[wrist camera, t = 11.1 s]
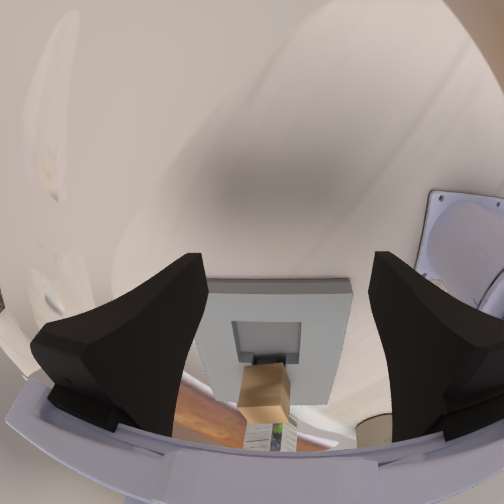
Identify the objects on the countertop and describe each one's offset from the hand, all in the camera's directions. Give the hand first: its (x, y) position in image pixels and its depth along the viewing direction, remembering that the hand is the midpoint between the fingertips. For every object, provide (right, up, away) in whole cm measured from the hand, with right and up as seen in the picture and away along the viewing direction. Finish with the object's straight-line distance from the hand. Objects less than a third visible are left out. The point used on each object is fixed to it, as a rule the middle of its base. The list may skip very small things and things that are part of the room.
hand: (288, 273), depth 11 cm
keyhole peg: (0, -11, +17) cm, 20 cm away
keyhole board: (0, -9, +16) cm, 19 cm away
